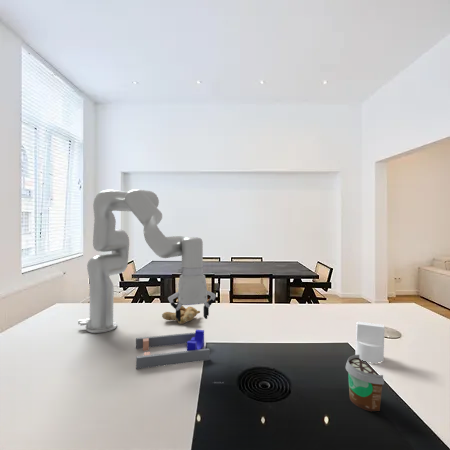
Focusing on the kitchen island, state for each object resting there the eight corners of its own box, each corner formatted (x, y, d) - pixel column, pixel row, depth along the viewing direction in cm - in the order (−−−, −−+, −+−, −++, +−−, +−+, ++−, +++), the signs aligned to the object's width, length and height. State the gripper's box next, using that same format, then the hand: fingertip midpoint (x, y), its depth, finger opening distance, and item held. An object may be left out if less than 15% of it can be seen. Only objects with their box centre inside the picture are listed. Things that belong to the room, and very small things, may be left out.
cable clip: (192, 344, 115) (192, 329, 115) (203, 345, 114) (204, 330, 114) (182, 359, 103) (182, 342, 103) (195, 360, 102) (195, 343, 102)
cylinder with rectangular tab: (381, 354, 109) (382, 321, 109) (385, 366, 101) (386, 330, 100) (354, 350, 112) (355, 318, 112) (356, 361, 104) (357, 326, 103)
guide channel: (136, 369, 95) (136, 358, 95) (135, 347, 111) (135, 338, 111) (209, 359, 102) (209, 349, 102) (199, 340, 118) (199, 332, 118)
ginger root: (208, 316, 144) (205, 300, 142) (187, 334, 131) (184, 317, 130) (183, 311, 153) (180, 296, 151) (161, 327, 140) (158, 312, 138)
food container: (336, 388, 87) (337, 354, 86) (357, 387, 87) (358, 353, 87) (359, 416, 74) (360, 376, 74) (383, 415, 75) (384, 376, 75)
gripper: (169, 274, 102) (169, 325, 102) (218, 272, 107) (218, 320, 107) (166, 271, 109) (166, 318, 109) (212, 269, 114) (212, 313, 114)
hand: (192, 319), depth 108 cm, fingers open, 9 cm apart
